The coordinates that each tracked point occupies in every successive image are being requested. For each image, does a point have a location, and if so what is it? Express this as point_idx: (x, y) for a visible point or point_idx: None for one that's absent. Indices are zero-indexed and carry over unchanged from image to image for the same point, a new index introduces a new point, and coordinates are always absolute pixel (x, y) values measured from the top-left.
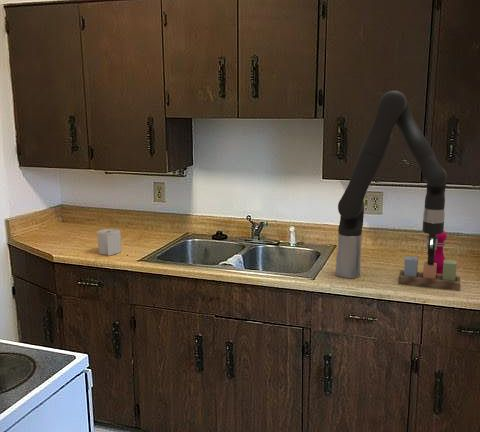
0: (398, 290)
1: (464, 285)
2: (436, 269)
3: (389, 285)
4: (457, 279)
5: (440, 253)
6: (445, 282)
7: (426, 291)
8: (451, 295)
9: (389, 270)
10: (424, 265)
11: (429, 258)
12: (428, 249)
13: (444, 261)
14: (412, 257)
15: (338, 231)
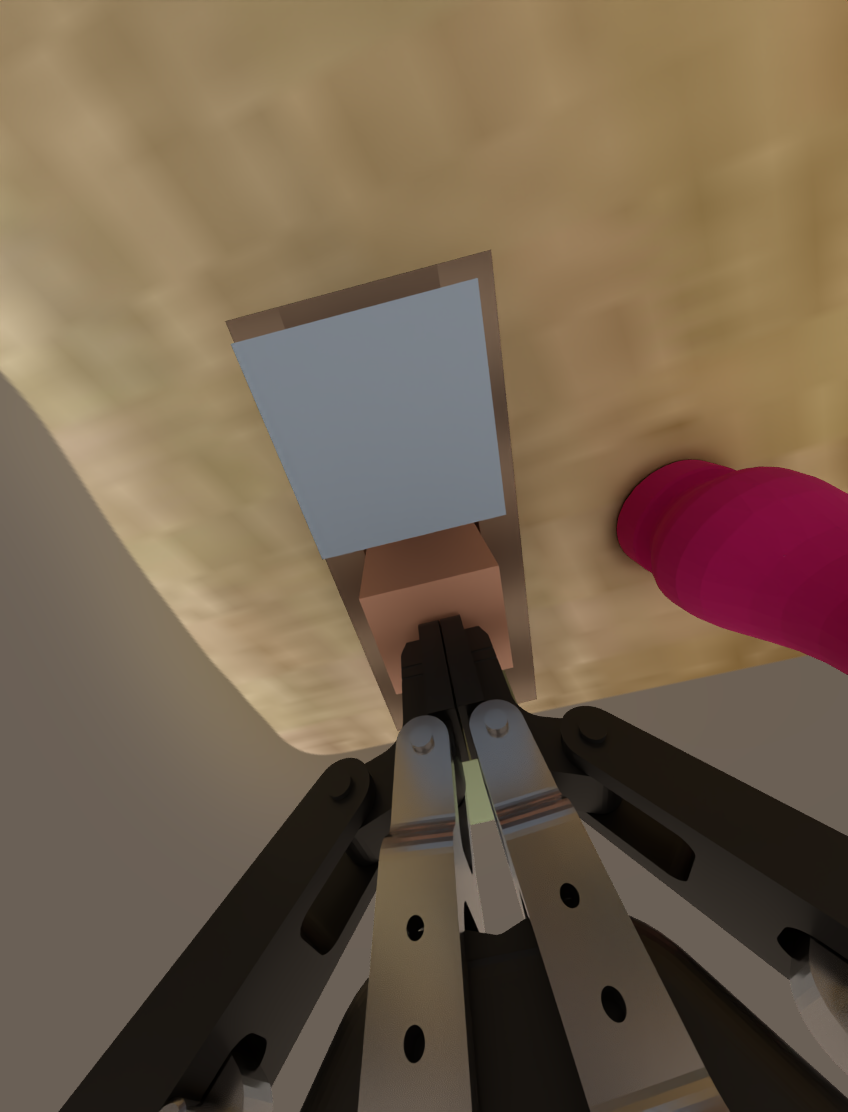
0: (106, 397)
1: None
2: (651, 548)
3: (153, 258)
4: None
5: (805, 648)
6: (373, 671)
7: (263, 573)
8: (303, 684)
9: (663, 22)
10: (362, 606)
11: (404, 700)
12: (180, 972)
13: (474, 764)
14: (449, 439)
15: None
